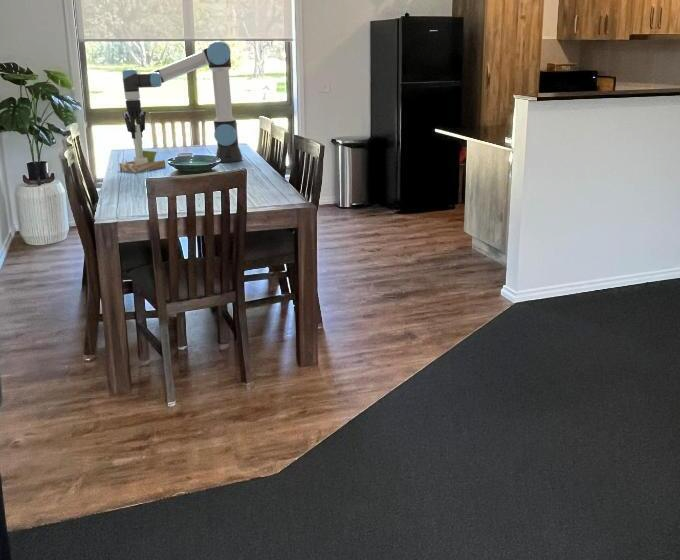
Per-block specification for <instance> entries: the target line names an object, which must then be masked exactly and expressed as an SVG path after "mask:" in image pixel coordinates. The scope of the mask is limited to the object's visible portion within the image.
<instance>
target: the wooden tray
mask: <svg viewBox="0 0 680 560" xmlns="http://www.w3.org/2000/svg"><path fill="white" fill-rule="evenodd" d="M118 164H119V165H118V166H119V171H120V170H124V171H123V172H127V171H130V172H129V173H134V172H138V173H142V171H143V172H147V171H155V170H158V169H164V167H165V168H167V167H166V160H165V159H161V160H154V162H148V163H143V164H137V165H135V162H134V160H129V161H123V162H120V163H118Z"/></svg>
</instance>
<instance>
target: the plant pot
mask: <svg viewBox="0 0 680 560" xmlns="http://www.w3.org/2000/svg"><path fill="white" fill-rule="evenodd" d="M157 153H158V151H153V150H143V157H145V158H147V159H148V162H154V161H156V156H157Z"/></svg>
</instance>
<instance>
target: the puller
mask: <svg viewBox="0 0 680 560" xmlns="http://www.w3.org/2000/svg"><path fill="white" fill-rule="evenodd" d="M135 133H137V140H138V145H134V152H135V156H133V161H134V162H135V165H137V164H143V163H148V159H147V158H145V157H143V151H144V150H143V140H142V141H141V133H140V125H139V124H136V123H135Z"/></svg>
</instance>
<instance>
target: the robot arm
mask: <svg viewBox="0 0 680 560" xmlns="http://www.w3.org/2000/svg"><path fill="white" fill-rule="evenodd" d="M231 53H232V52H231V48H230V46H229V45H228V44H227V42H225V41H222V40H214V41H212V42H210V44H209V45H208V46H206V47H204V48H202V49H201V51H199V52H198V53H197V52H196V53H194V54H192V55H190V56H187V57H184V58H182V59H180V60H176V61H174V62H172V63H169V64H167V65H164V66H163V67H159V68H157V69H155V70H152V71H149V72H138V71H137V69H135V68H134V69H123V70H122V81H123V82H122V83H123V89H124V91H123V92H124V97H125V107H126V112H124V113H123V114H122V116H123V118H124V122H125V125H126V130H127V132H129V133H131V139H133V141H132V142H133V145H134V146H135V145H138V140H137V133H135V124H139V125H140V133H141V141H142V142H143V132H144V131H145V130H146V114H147V112H146V111H143V110H142V108H141V107H142V105H141V100H140V98H141V95H140V88H145V89H146V88H160V87H162V84H163V83H167V82H168V81H170V80H173V79H176V78H179V77H180V76H183V75H186V74H189V73H190V72H193V71H196V70H198V69H202V68H203V67H205V66H208V68H209V69H210V70H211V72H212V82H213V83H212V84H213V93H214V104H215V105H214V106H215V108H214V109H215V116H216V117H215V118H214V120H213V125H214V126H213V127H214V135H213V136H214V139H215V141H216V143H217V150H216V154H215V158H216V157H218V158H220V159H221V162H220V163H234V162H240V161H243V154H242V153H241V148H240V147H239V137H238V127H237V125H238V123H237V119H236V118H234V116H233V108H232V96H231V95H232V94H231V84H230V83H231V81H230V71H229V70H230V69H231V68H232V62H231Z"/></svg>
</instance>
